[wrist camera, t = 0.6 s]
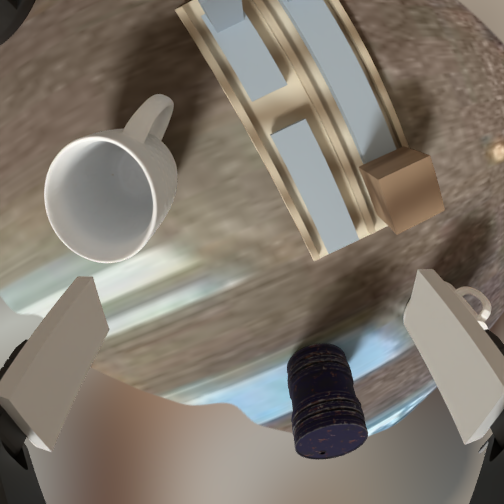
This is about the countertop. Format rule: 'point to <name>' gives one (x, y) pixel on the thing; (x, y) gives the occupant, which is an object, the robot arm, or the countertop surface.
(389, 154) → the walnut block
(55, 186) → the mug
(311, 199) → the broken strip
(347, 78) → the strip
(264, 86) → the broken strip
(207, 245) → the countertop surface
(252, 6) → the lane board
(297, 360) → the storage jar
